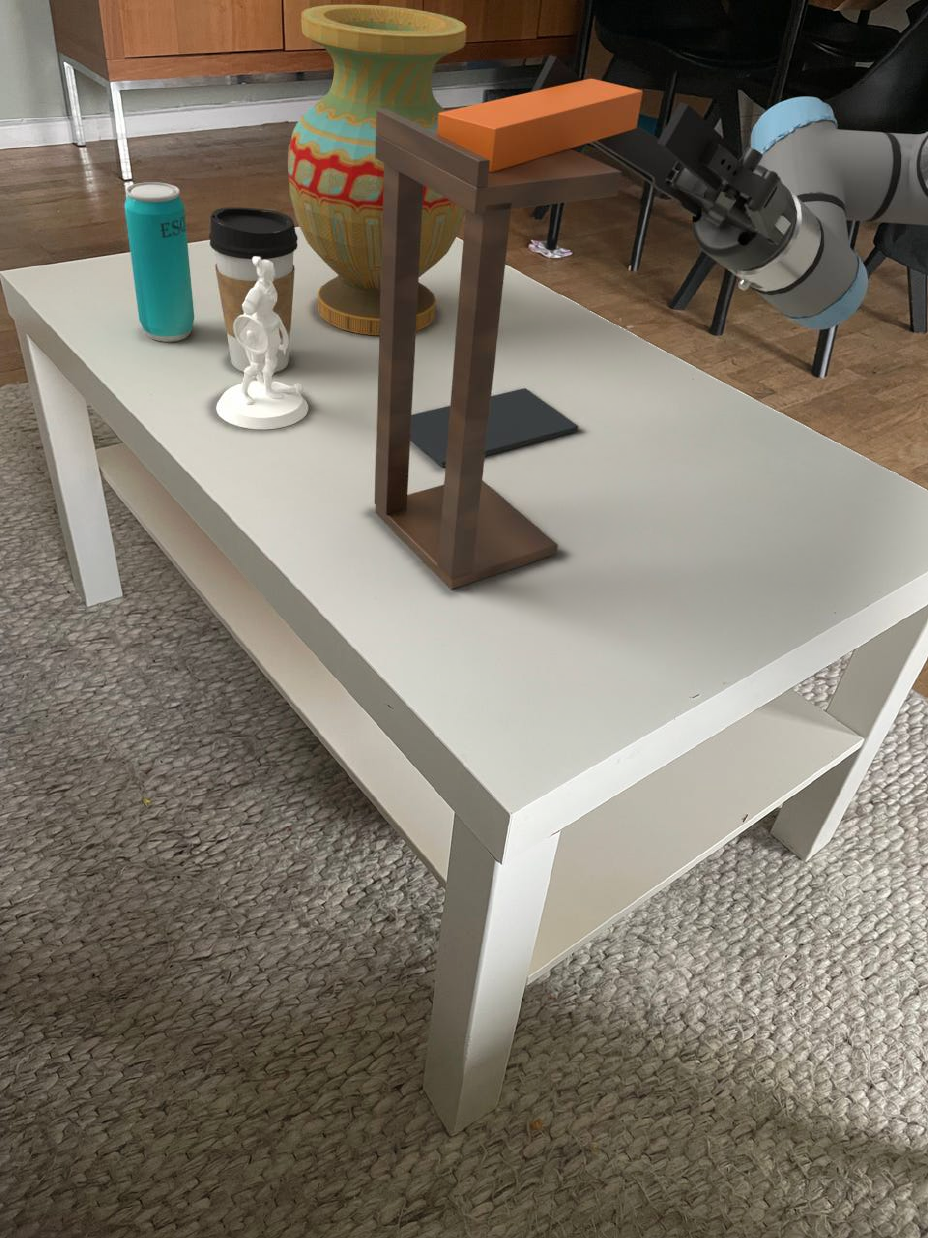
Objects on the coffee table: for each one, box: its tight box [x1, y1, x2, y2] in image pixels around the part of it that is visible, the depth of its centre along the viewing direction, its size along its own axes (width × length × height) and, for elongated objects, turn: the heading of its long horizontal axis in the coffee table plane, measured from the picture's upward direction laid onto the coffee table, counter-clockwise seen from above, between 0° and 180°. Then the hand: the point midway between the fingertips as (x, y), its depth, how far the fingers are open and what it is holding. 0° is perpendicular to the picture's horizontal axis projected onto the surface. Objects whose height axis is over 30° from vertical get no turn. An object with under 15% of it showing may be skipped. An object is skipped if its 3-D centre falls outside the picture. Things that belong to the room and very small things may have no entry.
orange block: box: [437, 78, 643, 172], centre depth 67 cm, size 18×4×2 cm, turn 143°
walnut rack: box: [374, 109, 623, 590], centre depth 74 cm, size 11×12×32 cm
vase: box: [287, 3, 467, 336], centre depth 109 cm, size 20×20×30 cm
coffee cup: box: [208, 206, 298, 375], centre depth 101 cm, size 8×8×15 cm
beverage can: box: [124, 181, 195, 343], centre depth 105 cm, size 6×6×15 cm
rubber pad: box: [410, 387, 579, 468], centre depth 98 cm, size 16×9×1 cm, turn 123°
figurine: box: [216, 256, 309, 430], centre depth 93 cm, size 9×9×15 cm
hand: (603, 97), depth 67 cm, fingers open, 13 cm apart
